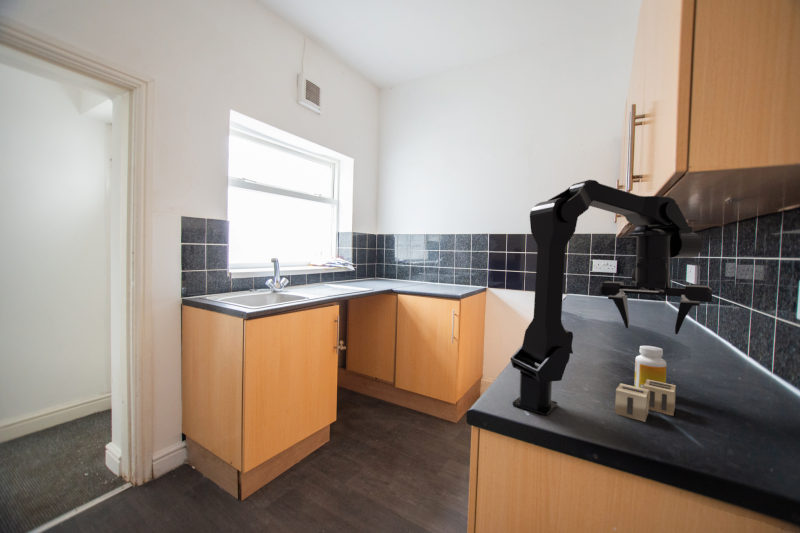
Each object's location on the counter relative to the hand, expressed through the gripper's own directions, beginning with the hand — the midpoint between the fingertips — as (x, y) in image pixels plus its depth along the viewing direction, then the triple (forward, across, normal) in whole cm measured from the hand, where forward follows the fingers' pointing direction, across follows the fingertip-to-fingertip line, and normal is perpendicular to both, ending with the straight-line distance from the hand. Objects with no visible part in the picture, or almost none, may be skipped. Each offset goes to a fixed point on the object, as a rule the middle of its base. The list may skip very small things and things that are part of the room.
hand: (650, 330), depth 71 cm
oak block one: (+13, +1, +15) cm, 20 cm away
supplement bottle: (+14, 0, 0) cm, 14 cm away
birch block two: (+13, -2, +8) cm, 16 cm away
